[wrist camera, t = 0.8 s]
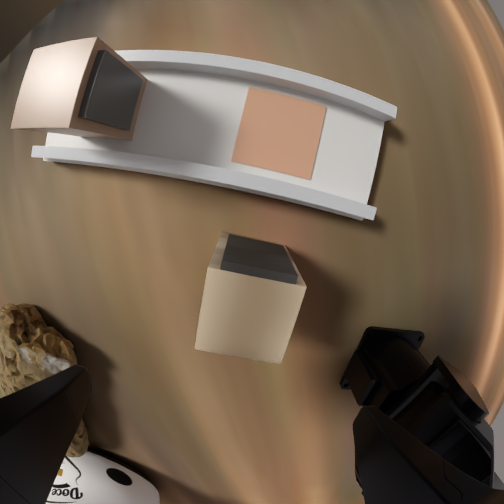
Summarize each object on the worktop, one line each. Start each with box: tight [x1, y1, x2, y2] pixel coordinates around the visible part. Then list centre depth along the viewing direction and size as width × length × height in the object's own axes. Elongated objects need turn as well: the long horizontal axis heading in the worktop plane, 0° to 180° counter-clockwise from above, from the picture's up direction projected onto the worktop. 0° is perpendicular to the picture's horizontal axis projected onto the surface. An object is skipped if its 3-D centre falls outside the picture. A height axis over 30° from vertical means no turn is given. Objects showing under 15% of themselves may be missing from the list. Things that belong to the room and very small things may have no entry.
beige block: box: [195, 232, 307, 364], centre depth 15 cm, size 4×5×7 cm
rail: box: [11, 37, 397, 221], centre depth 12 cm, size 23×8×8 cm, turn 77°
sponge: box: [0, 304, 89, 458], centre depth 19 cm, size 13×8×20 cm
